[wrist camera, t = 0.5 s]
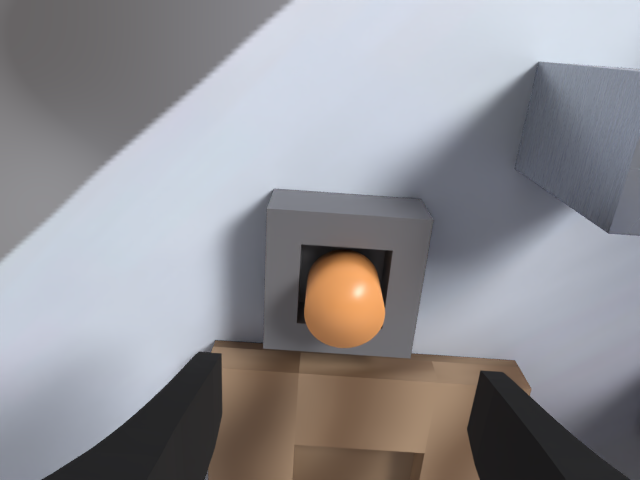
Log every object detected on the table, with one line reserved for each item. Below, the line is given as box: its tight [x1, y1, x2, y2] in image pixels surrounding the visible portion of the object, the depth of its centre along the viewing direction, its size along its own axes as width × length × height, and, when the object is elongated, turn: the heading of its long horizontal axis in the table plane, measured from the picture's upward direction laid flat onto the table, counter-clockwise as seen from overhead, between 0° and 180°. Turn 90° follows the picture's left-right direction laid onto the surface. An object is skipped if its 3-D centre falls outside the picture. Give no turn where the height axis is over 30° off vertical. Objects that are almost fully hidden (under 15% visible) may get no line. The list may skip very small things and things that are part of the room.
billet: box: [515, 62, 640, 236], centre depth 15 cm, size 4×4×7 cm
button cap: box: [304, 249, 385, 348], centre depth 18 cm, size 3×3×2 cm
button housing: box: [263, 189, 433, 358], centre depth 20 cm, size 6×6×2 cm
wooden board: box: [208, 340, 531, 480], centre depth 24 cm, size 14×14×2 cm
